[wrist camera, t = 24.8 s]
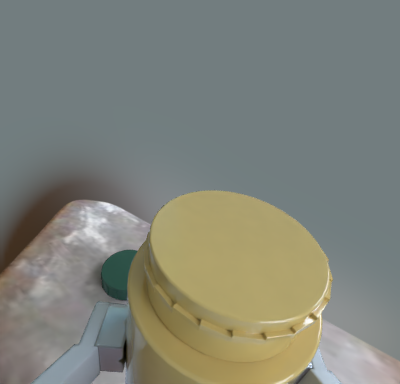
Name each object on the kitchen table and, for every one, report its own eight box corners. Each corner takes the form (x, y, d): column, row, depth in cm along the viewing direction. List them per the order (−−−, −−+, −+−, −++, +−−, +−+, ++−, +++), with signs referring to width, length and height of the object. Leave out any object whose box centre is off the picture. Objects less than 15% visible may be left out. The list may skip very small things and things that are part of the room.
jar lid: (161, 270, 32) (162, 261, 31) (134, 309, 27) (135, 299, 26) (122, 253, 33) (122, 243, 32) (90, 286, 28) (89, 276, 27)
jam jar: (106, 482, 9) (85, 332, 4) (140, 330, 14) (152, 172, 9) (252, 491, 10) (416, 368, 4) (236, 341, 15) (302, 195, 9)
